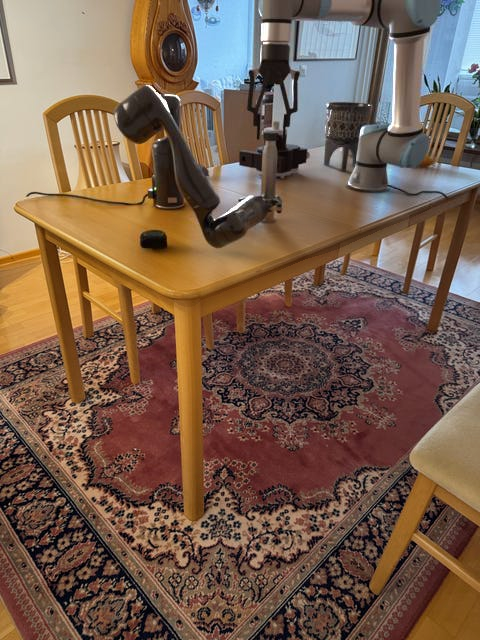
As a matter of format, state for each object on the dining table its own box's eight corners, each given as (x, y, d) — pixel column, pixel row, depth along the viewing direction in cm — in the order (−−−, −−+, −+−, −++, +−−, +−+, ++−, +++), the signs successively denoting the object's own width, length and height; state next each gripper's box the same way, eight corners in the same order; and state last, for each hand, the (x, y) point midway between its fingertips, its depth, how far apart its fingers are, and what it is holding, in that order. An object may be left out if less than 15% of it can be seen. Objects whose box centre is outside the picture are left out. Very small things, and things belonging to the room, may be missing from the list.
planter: (313, 167, 208) (319, 103, 195) (331, 160, 222) (338, 101, 209) (353, 173, 199) (362, 107, 185) (369, 166, 213) (379, 104, 199)
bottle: (257, 220, 139) (260, 135, 127) (264, 217, 142) (268, 133, 130) (269, 223, 137) (273, 136, 125) (276, 219, 140) (281, 135, 128)
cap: (260, 140, 127) (261, 132, 126) (267, 138, 131) (267, 130, 130) (274, 141, 126) (274, 133, 125) (280, 139, 129) (281, 132, 128)
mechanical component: (240, 120, 182) (283, 115, 202) (239, 174, 192) (280, 164, 212) (283, 126, 170) (325, 120, 190) (280, 183, 180) (320, 171, 200)
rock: (201, 174, 190) (201, 158, 187) (214, 178, 185) (214, 162, 181) (174, 179, 183) (173, 162, 179) (187, 183, 177) (186, 166, 174)
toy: (409, 160, 208) (403, 153, 221) (411, 174, 211) (405, 166, 224) (434, 152, 205) (427, 146, 218) (436, 166, 208) (429, 159, 221)
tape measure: (140, 252, 115) (139, 238, 113) (141, 242, 120) (140, 229, 119) (167, 251, 116) (166, 237, 114) (167, 241, 121) (166, 228, 120)
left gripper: (274, 202, 121) (294, 188, 135) (226, 195, 126) (249, 182, 139) (273, 229, 125) (292, 212, 138) (226, 222, 129) (248, 206, 143)
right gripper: (312, 44, 119) (304, 138, 131) (238, 43, 120) (237, 136, 132) (314, 44, 113) (306, 142, 124) (237, 42, 114) (235, 140, 125)
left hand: (270, 197), depth 139 cm, fingers closed on bottle, 4 cm apart
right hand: (270, 139), depth 128 cm, fingers open, 6 cm apart
